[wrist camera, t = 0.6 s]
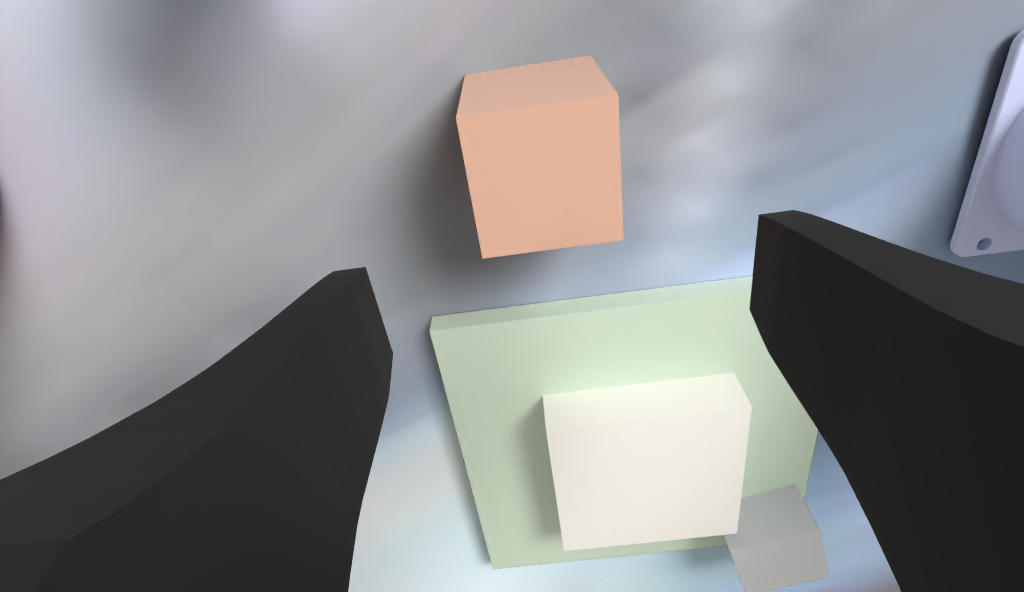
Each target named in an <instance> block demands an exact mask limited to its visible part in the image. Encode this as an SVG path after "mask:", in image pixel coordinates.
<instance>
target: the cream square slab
mask: <svg viewBox="0 0 1024 592" xmlns="http://www.w3.org/2000/svg"><path fill="white" fill-rule="evenodd" d="M543 404H544V415H545V425H546V434H547V440H548V447H549V454H550V460H551V467H552V474H553V481H554V487H555V494H556V501H557V508H558V514H559V521H560V528H561V534H562V541H563V548H564V551H571V550H580V549H590V548H600V547H610V546H619V545H629V544H639V543H649V542H658V541H668V540H678V539H688V538H697V537H707V536H717V535H727V534H736V533H737V530H738V521H739V512H740V504H741V495H742V487H743V478H744V470H745V461H746V452H747V444H748V435H749V427H750V418H751V410H752V406H751V404H750V402H749V400H748V398H747V396H746V394H745V393H744V391H743V389H742V387H741V385H740V383H739V381H738V379H737V377H736V375H735V374H734V373H728V374H719V375H711V376H702V377H694V378H685V379H677V380H668V381H660V382H651V383H643V384H634V385H626V386H617V387H609V388H600V389H592V390H583V391H575V392H566V393H558V394H549V395H543Z"/></svg>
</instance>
